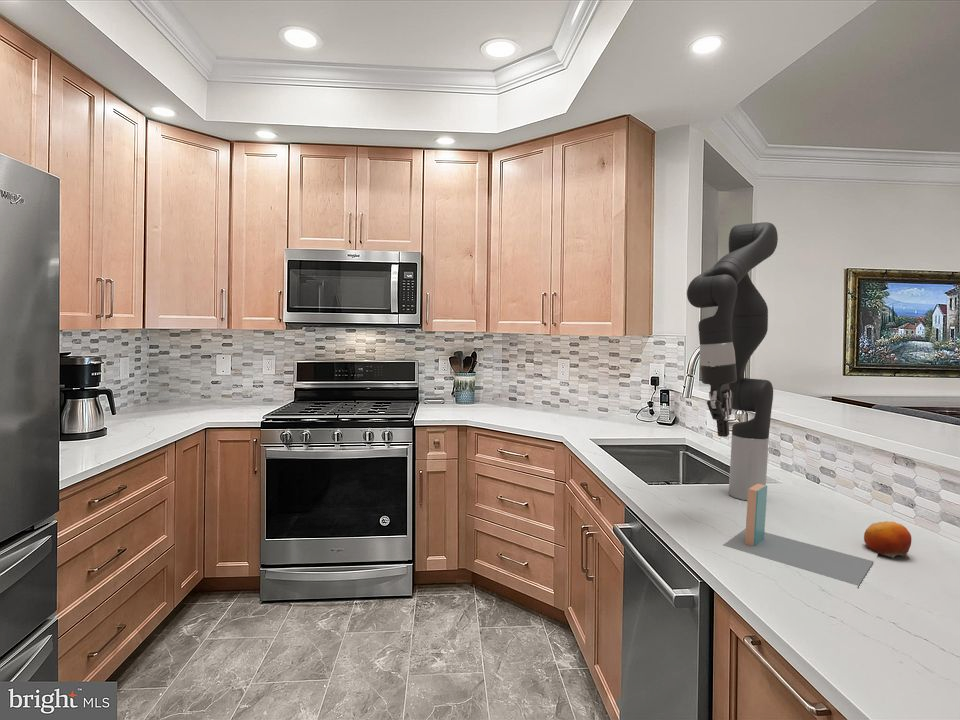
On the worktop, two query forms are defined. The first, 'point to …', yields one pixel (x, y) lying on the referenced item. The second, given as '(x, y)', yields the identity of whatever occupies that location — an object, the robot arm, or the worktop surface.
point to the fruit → (888, 539)
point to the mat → (806, 557)
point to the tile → (756, 514)
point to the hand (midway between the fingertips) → (723, 435)
